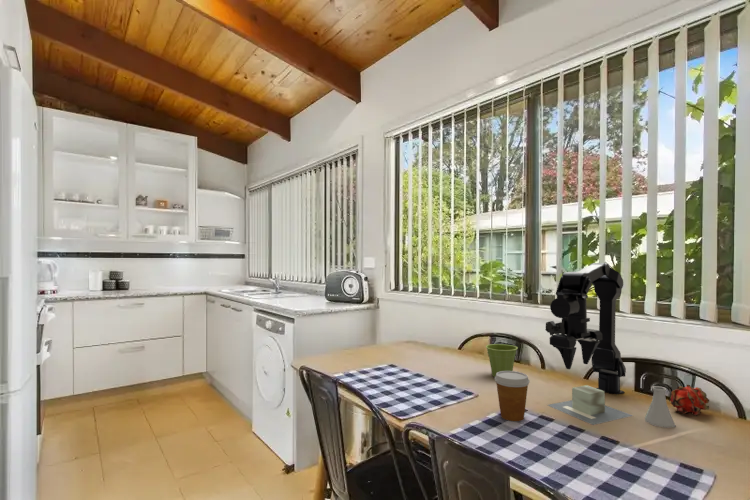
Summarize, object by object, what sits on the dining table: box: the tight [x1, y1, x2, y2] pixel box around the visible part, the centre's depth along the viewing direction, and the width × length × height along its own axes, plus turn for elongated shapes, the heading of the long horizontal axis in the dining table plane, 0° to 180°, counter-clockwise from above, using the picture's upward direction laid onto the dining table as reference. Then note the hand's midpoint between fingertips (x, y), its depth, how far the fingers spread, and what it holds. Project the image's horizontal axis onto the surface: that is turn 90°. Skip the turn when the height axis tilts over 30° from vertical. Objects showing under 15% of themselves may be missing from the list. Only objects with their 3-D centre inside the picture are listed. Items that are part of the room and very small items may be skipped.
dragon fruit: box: [668, 384, 710, 416], centre depth 118 cm, size 8×8×12 cm
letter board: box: [547, 399, 634, 426], centre depth 119 cm, size 16×16×1 cm
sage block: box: [571, 384, 606, 415], centre depth 119 cm, size 6×6×6 cm
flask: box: [644, 385, 677, 429], centre depth 110 cm, size 7×7×10 cm
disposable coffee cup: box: [494, 370, 531, 422], centre depth 116 cm, size 10×10×12 cm
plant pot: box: [485, 343, 519, 378], centre depth 155 cm, size 12×12×11 cm
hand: (577, 366), depth 121 cm, fingers open, 9 cm apart
